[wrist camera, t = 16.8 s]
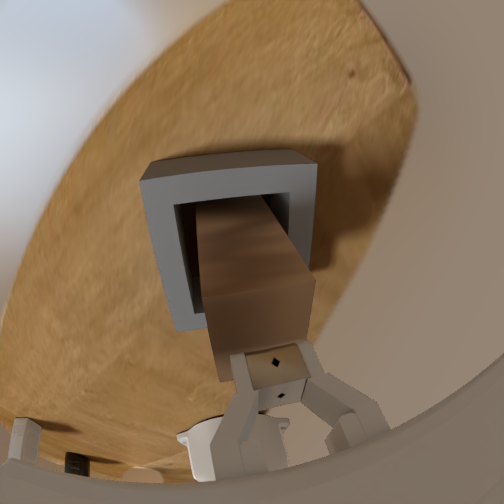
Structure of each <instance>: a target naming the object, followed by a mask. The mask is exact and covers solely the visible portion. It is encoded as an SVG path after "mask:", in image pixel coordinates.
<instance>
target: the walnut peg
mask: <svg viewBox="0 0 504 504" xmlns="http://www.w3.org/2000/svg"><path fill="white" fill-rule="evenodd" d="M195 206H196V227H197V244H198V258H199V272H200V284H201V295H202V302H203V307H204V312H205V317H206V322H207V327H208V332H209V337H210V342H211V346H212V351H213V355H214V360H215V364H216V368H217V373H218V377H219V381H220V382H226V381H233V374H232V368H231V361H230V355H233V354H239V353H246V352H252V351H258V350H264V349H270V348H272V347H277V346H281V345H286V344H290V343H297V342H301V341H305V340H306V338H307V333H308V327H309V321H310V315H311V309H312V303H313V296H314V290H315V283H316V280H315V278H314V276H313V275H312V273H311V272H310V270H309V269H308V267H307V265H306V264H305V262H304V261H303V259H302V257H301V256H300V254H299V253H298V251H297V250H296V248H295V246H294V245H293V243H292V242H291V240H290V239H289V237H288V236H287V234H286V233H285V231H284V230H283V228H282V226H281V225H280V223H279V222H278V220H277V219H276V217H275V216H274V214H273V213H272V211H271V210H270V208H269V207H268V205H267V204H266V202H265V201H264V199H263V198H262V196H261V195H250V196H240V197H231V198H222V199H213V200H205V201H197V202H195Z"/></svg>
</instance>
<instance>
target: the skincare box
mask: <svg viewBox="0 0 504 504" xmlns="http://www.w3.org/2000/svg"><path fill="white" fill-rule="evenodd" d="M41 432H42V427H41V426H39V425H38V424H37V423H35V422H34V421H32V420H30V419H29V418H15V420H14V425H13V430H12V435H11V441H10V447H9V454H8V459H9V458H16V459H19V460H22V461H25V462H28V463H31V464H35V465H37V461H38V452H39V445H40V438H41Z"/></svg>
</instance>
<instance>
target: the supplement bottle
mask: <svg viewBox="0 0 504 504" xmlns="http://www.w3.org/2000/svg"><path fill="white" fill-rule="evenodd" d="M64 472H65V473H70V474H75V475H80V476H85V477H90V460H89V459H88V458H86V457H84V456H81V455H78V454H74V453H66V454H65V471H64Z"/></svg>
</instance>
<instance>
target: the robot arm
mask: <svg viewBox="0 0 504 504" xmlns="http://www.w3.org/2000/svg"><path fill="white" fill-rule="evenodd" d="M230 361H231V368H232V374H233V380H234V385H235V390H236V394H234V395H233V397H232V399H231V401H230V403H229V406H228V408H227V410H226V412H225V414H224V416H223V417H218V418H214V419H210V420H207V421H204V422H201V423H199V424H197V425H195V426H193V427H192V428H191V429H190V430H188V431H186V432H183V433H180V434H178V435H177V440H178V441H179V442H180V443H182V444H184V445H185V446H187V447H188V452H189V458H190V463H191V468H192V473H193V477H194V479H197V481H199V482H189V483H139V482H124V481H114V480H105V479H98V478H91V477H85V476H80V475H75V474H70V473H65V472H60V471H57V470H53V469H49V468H45V467H41V466H38V465H35V464H31V463H28V462H25V461H22V460H19V459H16V458H9V459H8V460H7V461H6V462H4V464H3V465H2V466H1V467H0V504H504V353H503V354H502V355H501V356H500V357H499V358H498V359H496V360H495V361H494V362H493V363H492V364H491V365H489V366H488V367H487V368H486V369H485V370H483V371H482V372H481V373H480V374H478V375H477V376H476V377H475V378H473V379H472V380H471V381H469V382H468V383H467V384H465V385H464V386H463V387H461V388H460V389H458V390H457V391H455V392H454V393H453V394H451V395H450V396H448V397H447V398H445V399H444V400H442V401H441V402H439V403H437V404H436V405H434V406H433V407H431V408H430V409H428V410H426V411H424V412H423V413H421V414H419V415H417V416H416V417H414V418H412V419H410V420H408V421H407V422H405V423H403V424H401V425H399V426H397V427H395V428H393V429H390V427H389V425H388V423H387V421H386V419H385V417H384V415H383V413H382V411H381V409H380V407H379V405H378V404H377V402H376V401H374V400H372V399H371V398H369V397H368V396H366V395H364V394H363V393H361V392H359V391H358V390H356V389H354V388H353V387H351V386H349V385H348V384H346V383H345V382H343V381H341V380H340V379H338V378H337V377H335V376H333V375H332V374H330V373H325V372H324V370H323V368H322V365H321V363H320V361H319V359H318V357H317V355H316V353H315V351H314V348H313V346H312V344H311V342H310V341H309V340H305V341H301V342H297V343H290V344H286V345H281V346H277V347H272V348H270V349H264V350H258V351H252V352H246V353H239V354H233V355H230ZM299 401H301V402H302V403H303V404H304V405H305V406H306V407H307V408H309V409H310V410H311V411H312V412H314V413H315V414H316V415H317V416H318V417H320V418H321V419H322V420H324V421H325V422H326V423H327V424H329V425H330V426H331V427H333V429H332V430H331V432H330V433H329V435H328V436H327V438H326V439H325V443H326V445H327V448H328V451H329V453H330V455H328V456H326V457H323V458H319V459H316V460H313V461H310V462H306V463H303V464H300V465H296V466H292V467H288V468H287V466H288V465H289V464H290V461H289V457H288V453H287V449H286V446H285V442H284V438H283V432H284V431H285V430H286V429H287V427H288V426H289V424H290V422H289V419H288V418H274V417H271V416H268V415H263V414H258V412H259V411H260V410H264V409H269V408H273V407H277V406H281V405H286V404H291V403H295V402H299Z"/></svg>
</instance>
